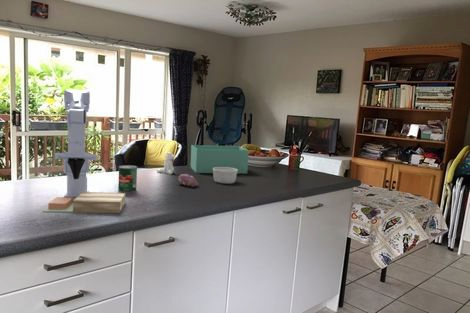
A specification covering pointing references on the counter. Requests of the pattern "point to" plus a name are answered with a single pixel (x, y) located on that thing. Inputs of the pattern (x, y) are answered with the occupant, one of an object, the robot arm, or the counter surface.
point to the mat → (69, 209)
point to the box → (218, 158)
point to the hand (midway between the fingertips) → (76, 178)
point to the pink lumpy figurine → (186, 177)
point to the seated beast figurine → (167, 164)
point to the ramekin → (224, 174)
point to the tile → (60, 203)
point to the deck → (99, 202)
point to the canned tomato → (127, 178)
